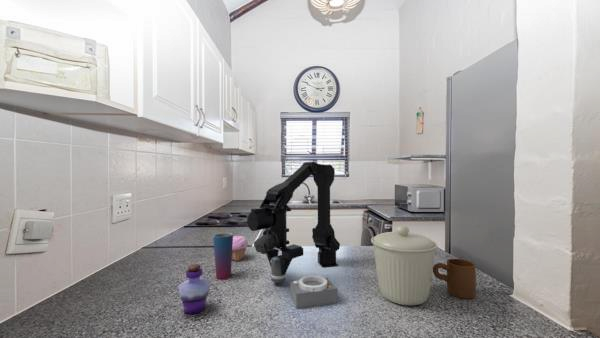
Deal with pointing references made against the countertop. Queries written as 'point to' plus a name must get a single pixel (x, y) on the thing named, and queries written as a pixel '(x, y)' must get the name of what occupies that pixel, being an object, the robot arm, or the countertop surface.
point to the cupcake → (238, 247)
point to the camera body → (312, 291)
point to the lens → (276, 270)
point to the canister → (404, 265)
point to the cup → (223, 254)
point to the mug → (458, 277)
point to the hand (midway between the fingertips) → (278, 272)
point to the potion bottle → (194, 290)
